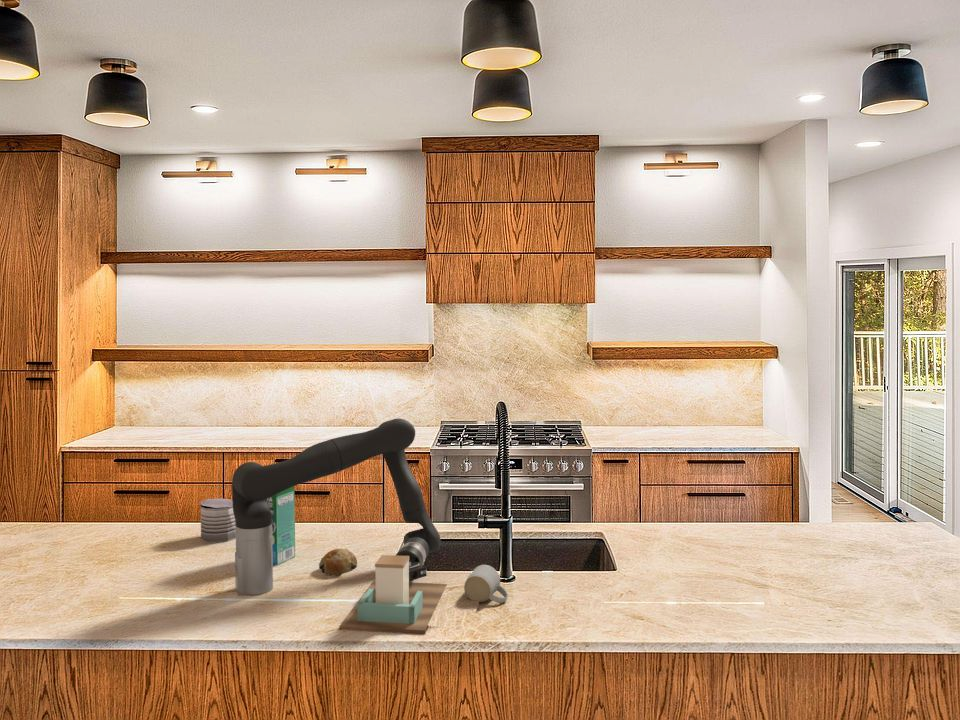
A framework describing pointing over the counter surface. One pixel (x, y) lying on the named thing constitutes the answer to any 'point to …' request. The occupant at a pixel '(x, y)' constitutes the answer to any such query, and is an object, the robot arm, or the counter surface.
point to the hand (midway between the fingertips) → (394, 581)
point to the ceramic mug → (484, 585)
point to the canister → (392, 579)
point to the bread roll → (338, 562)
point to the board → (430, 602)
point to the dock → (389, 609)
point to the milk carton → (283, 525)
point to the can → (217, 521)
